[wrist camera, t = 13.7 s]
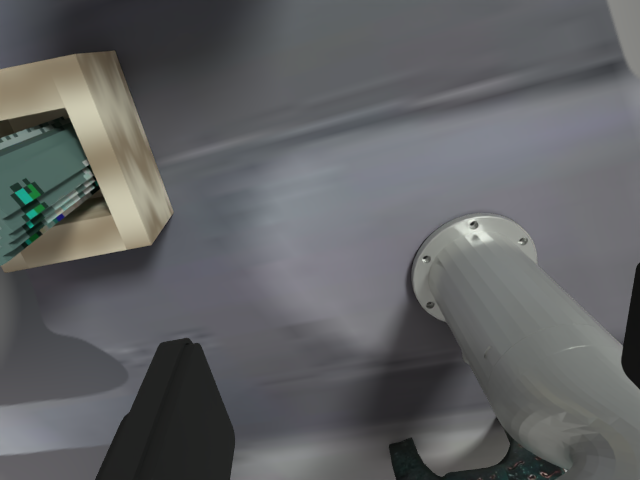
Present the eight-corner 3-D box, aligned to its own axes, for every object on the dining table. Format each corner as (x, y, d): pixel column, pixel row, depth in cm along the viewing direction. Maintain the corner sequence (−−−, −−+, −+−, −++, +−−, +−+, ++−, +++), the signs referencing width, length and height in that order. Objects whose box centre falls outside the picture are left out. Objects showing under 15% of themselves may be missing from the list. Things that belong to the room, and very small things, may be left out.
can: (75, 200, 38) (-47, 292, 24) (24, 140, 35) (-144, 205, 22) (131, 168, 37) (36, 245, 23) (82, 104, 34) (-56, 148, 21)
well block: (173, 212, 40) (151, 244, 34) (49, 236, 40) (5, 272, 34) (114, 50, 34) (74, 53, 27) (-31, 80, 34) (-103, 90, 28)
